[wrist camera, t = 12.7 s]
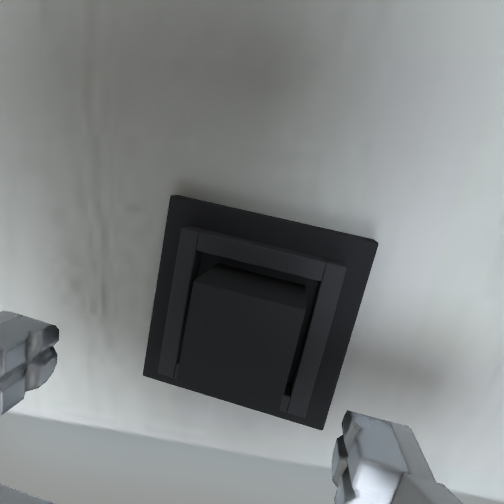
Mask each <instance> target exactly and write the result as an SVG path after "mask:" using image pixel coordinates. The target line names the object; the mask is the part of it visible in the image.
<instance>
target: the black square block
mask: <svg viewBox="0 0 504 504" xmlns="http://www.w3.org/2000/svg"><path fill="white" fill-rule="evenodd" d="M305 304H306V286H305V285H302V284H298V283H294V282H290V281H286V280H282V279H278V278H274V277H270V276H266V275H262V274H258V273H254V272H250V271H246V270H242V269H238V268H234V267H230V266H226V265H222V264H216V265H214V266H213V267H212V268H210V269H209V270H208V271H206V272H205V273H204V274H202V275H201V276H200V277H199V278H197V279H196V280H195V281H194V282H193V288H192V294H191V299H190V305H189V310H188V316H187V322H186V327H185V333H184V338H183V344H182V350H181V355H180V361H179V367H178V372H177V378H176V379H177V380H178V381H182V382H185V383H188V384H192V385H195V386H198V387H202V388H205V389H208V390H212V391H215V392H218V393H221V394H225V395H228V396H231V397H235V398H238V399H241V400H245V401H248V402H251V403H254V404H258V405H261V406H264V407H268V408H271V409H274V410H278V411H279V410H280V406H281V403H282V399H283V395H284V391H285V387H286V383H287V380H288V376H289V372H290V368H291V364H292V360H293V356H294V353H295V349H296V345H297V341H298V337H299V333H300V329H301V326H302V322H303V318H304V314H305Z"/></svg>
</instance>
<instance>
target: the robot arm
mask: <svg viewBox="0 0 504 504" xmlns="http://www.w3.org/2000/svg"><path fill="white" fill-rule="evenodd" d="M58 341H59V329H58V328H57V327H56V326H55V325H52V324H49V323H46V322H43V321H40V320H36V319H33V318H30V317H27V316H23V315H20V314H17V313H13V312H8V311H2V312H0V416H1V415H2V414H4V413H5V412H6V411H8V410H9V409H10V408H12V407H13V406H14V405H16V404H17V403H19V402H20V401H21V400H23V399H24V395H25V392H26V391H30V390H33V389H37V388H39V387H40V386H41V385H42V384H44V383H45V382H46V381H47V380H48V379H49V377H50V376H51V374H52V373H53V372H54V369H55V366H56V363H57V353H56V351H55V349H54V347H53V346H54V345H55V344H56V343H57V342H58ZM342 429H343V435H342V436H340V437H339V438H337V440H336V443H335V447H334V451H333V458H332V480H333V482H334V484H335V485H336V486H337V488H338V489H337V492H336V495H335V499H334V500H335V504H463V503H462V502H461V501H460V500H459V499H458V498H457V497H456V496H455V495H454V494H453V493H452V492H451V491H450V490H449V489H447V488H446V487H445V486H444V485H443V484H440V483H436V481H435V478H434V476H433V474H432V472H431V470H430V468H429V465H428V463H427V461H426V459H425V457H424V455H423V453H422V450H421V448H420V446H419V444H418V442H417V440H416V438H415V435H414V433H413V431H412V429H411V428H410V427H409V426H406V425H402V424H398V423H394V422H390V421H385V420H381V419H378V418H374V417H370V416H366V415H363V414H359V413H355V412H351V411H348V410H347V412H346V414H345V415H344V418H343V421H342ZM0 504H56V503H53V502H50V501H47V500H44V499H42V498H39V497H36V496H33V495H30V494H28V493H25V492H22V491H19V490H16V489H13V488H11V487H8V486H5V485H2V484H0Z"/></svg>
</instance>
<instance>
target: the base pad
mask: <svg viewBox="0 0 504 504" xmlns="http://www.w3.org/2000/svg"><path fill="white" fill-rule="evenodd" d="M377 247H378V242H376V241H375V240H373V239H369V238H364V237H360V236H355V235H351V234H347V233H342V232H338V231H333V230H329V229H325V228H320V227H316V226H311V225H307V224H302V223H298V222H294V221H289V220H285V219H280V218H276V217H272V216H267V215H263V214H258V213H254V212H250V211H245V210H241V209H236V208H232V207H228V206H223V205H219V204H214V203H210V202H206V201H201V200H197V199H192V198H188V197H184V196H179V195H171V197H170V202H169V209H168V215H167V222H166V228H165V235H164V241H163V248H162V254H161V261H160V267H159V273H158V280H157V286H156V293H155V299H154V306H153V312H152V319H151V325H150V332H149V338H148V345H147V351H146V358H145V364H144V371H143V376H146V377H149V378H153V379H156V380H159V381H162V382H166V383H169V384H172V385H175V386H179V387H182V388H185V389H188V390H192V391H195V392H198V393H202V394H205V395H208V396H211V397H215V398H218V399H221V400H224V401H228V402H231V403H234V404H237V405H241V406H244V407H247V408H250V409H254V410H257V411H260V412H263V413H267V414H270V415H273V416H276V417H280V418H283V419H286V420H290V421H293V422H296V423H299V424H303V425H306V426H309V427H312V428H316V429H319V430H323V428H324V424H325V421H326V418H327V414H328V411H329V408H330V404H331V401H332V398H333V394H334V391H335V388H336V384H337V381H338V378H339V374H340V371H341V367H342V364H343V361H344V357H345V354H346V351H347V347H348V344H349V341H350V337H351V334H352V331H353V327H354V324H355V321H356V317H357V314H358V311H359V307H360V304H361V300H362V297H363V294H364V290H365V287H366V284H367V280H368V277H369V274H370V270H371V267H372V264H373V260H374V257H375V254H376V250H377ZM216 264H222V265H226V266H230V267H234V268H238V269H242V270H246V271H250V272H254V273H258V274H262V275H266V276H270V277H274V278H278V279H282V280H286V281H290V282H294V283H298V284H302V285H305V286H306V304H305V314H304V318H303V322H302V326H301V329H300V333H299V337H298V341H297V345H296V349H295V353H294V356H293V360H292V364H291V368H290V372H289V376H288V380H287V383H286V387H285V391H284V395H283V399H282V403H281V406H280V410H279V411H278V410H274V409H271V408H268V407H264V406H261V405H258V404H254V403H251V402H248V401H245V400H241V399H238V398H235V397H231V396H228V395H225V394H221V393H218V392H215V391H212V390H208V389H205V388H202V387H198V386H195V385H192V384H188V383H185V382H182V381H178V380H177V379H176V378H177V372H178V367H179V361H180V355H181V350H182V344H183V338H184V333H185V327H186V322H187V316H188V310H189V305H190V299H191V294H192V288H193V282H194V281H195V280H196V279H197V278H199V277H200V276H201V275H202V274H204V273H205V272H206V271H208V270H209V269H210V268H212V267H213V266H214V265H216Z"/></svg>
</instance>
